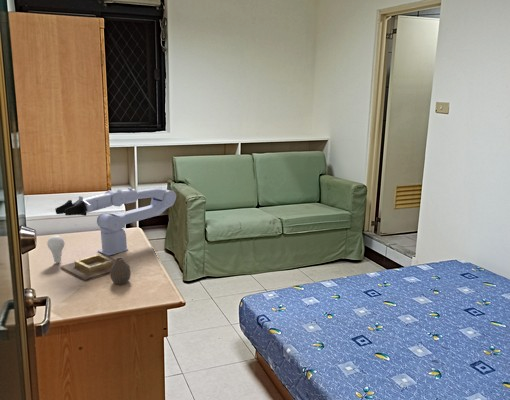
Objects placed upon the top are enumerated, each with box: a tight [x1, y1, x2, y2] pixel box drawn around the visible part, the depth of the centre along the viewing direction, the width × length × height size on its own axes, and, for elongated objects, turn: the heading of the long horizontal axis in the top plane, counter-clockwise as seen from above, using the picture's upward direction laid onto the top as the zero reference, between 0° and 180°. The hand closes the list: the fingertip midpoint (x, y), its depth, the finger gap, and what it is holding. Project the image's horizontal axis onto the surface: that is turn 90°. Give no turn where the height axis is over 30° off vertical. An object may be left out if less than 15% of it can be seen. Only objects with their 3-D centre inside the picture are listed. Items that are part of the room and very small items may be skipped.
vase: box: [109, 257, 131, 286], centre depth 172 cm, size 7×7×9 cm
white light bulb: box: [46, 235, 66, 264], centre depth 189 cm, size 6×6×11 cm
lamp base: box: [59, 253, 117, 282], centre depth 186 cm, size 18×18×1 cm
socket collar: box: [74, 253, 114, 273], centre depth 186 cm, size 10×10×2 cm
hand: (60, 212), depth 184 cm, fingers open, 7 cm apart
